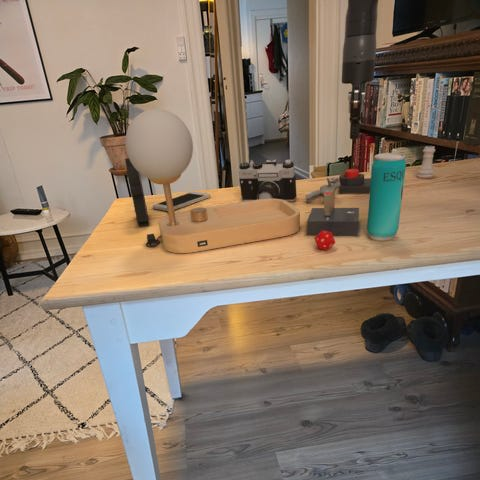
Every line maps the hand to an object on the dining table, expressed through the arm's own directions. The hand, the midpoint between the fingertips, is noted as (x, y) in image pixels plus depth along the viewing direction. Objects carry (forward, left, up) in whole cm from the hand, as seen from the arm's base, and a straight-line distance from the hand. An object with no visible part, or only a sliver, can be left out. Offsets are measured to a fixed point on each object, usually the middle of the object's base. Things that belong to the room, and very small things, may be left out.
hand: (354, 138), depth 105 cm
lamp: (+26, +36, -13) cm, 46 cm away
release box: (-2, 0, -13) cm, 13 cm away
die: (+3, +44, -13) cm, 46 cm away
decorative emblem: (+49, +28, -13) cm, 58 cm away
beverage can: (-7, +37, -13) cm, 40 cm away
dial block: (+3, +32, -13) cm, 35 cm away
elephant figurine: (+6, +13, -13) cm, 19 cm away
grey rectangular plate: (+4, +31, -10) cm, 33 cm away
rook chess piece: (-20, -12, -13) cm, 26 cm away
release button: (0, 0, -10) cm, 10 cm away
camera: (+21, +13, -13) cm, 28 cm away
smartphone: (+45, +12, -13) cm, 48 cm away
